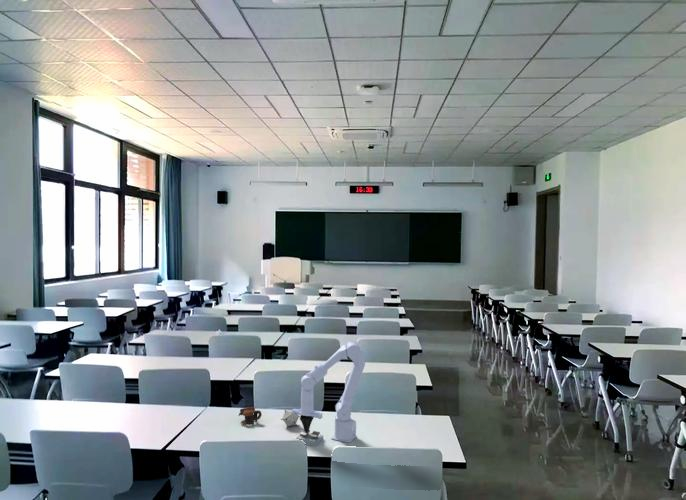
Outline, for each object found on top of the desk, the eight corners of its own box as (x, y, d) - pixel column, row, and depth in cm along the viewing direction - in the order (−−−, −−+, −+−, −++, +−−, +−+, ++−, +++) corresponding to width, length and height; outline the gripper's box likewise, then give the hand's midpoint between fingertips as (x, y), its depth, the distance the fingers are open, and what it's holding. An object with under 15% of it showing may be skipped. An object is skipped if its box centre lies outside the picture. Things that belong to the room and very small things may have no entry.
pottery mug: (235, 426, 232) (235, 409, 236) (244, 428, 240) (243, 411, 244) (259, 422, 230) (258, 404, 234) (266, 424, 239) (265, 406, 242)
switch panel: (323, 439, 218) (323, 434, 218) (316, 446, 211) (316, 440, 211) (303, 435, 222) (303, 430, 222) (296, 442, 215) (296, 436, 215)
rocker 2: (319, 433, 217) (319, 431, 216) (316, 438, 213) (316, 436, 213) (313, 432, 218) (313, 430, 217) (310, 437, 214) (309, 435, 214)
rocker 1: (309, 431, 218) (309, 429, 218) (306, 436, 215) (305, 434, 215) (304, 430, 219) (303, 428, 219) (300, 435, 216) (299, 433, 216)
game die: (286, 434, 232) (274, 417, 232) (295, 422, 239) (283, 406, 239) (298, 429, 227) (285, 413, 226) (307, 417, 234) (294, 401, 233)
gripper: (325, 401, 219) (324, 430, 220) (297, 396, 225) (296, 425, 225) (318, 406, 213) (318, 437, 213) (289, 401, 218) (289, 431, 219)
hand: (306, 431), depth 219 cm, fingers closed, pressing on rocker 1
